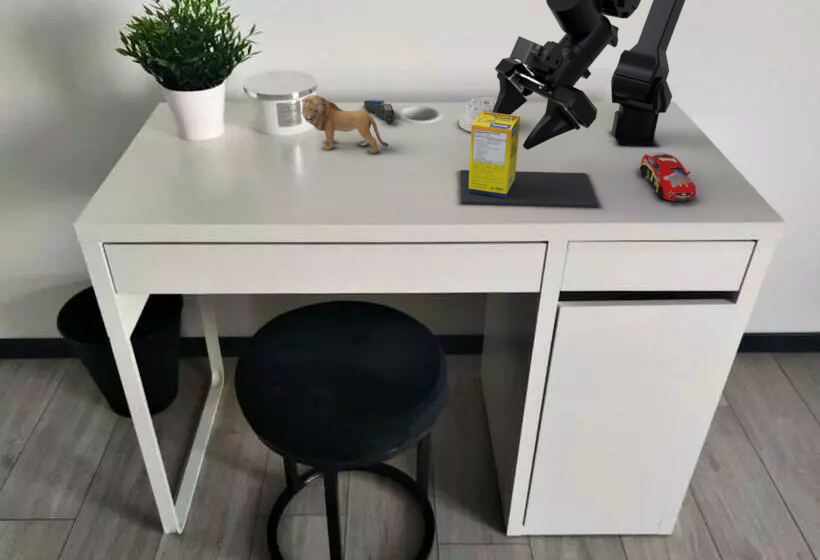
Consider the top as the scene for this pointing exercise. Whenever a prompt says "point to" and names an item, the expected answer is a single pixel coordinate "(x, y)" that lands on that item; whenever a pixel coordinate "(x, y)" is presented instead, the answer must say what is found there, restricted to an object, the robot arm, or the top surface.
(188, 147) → the top surface
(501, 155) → the supplement box
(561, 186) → the desk pad
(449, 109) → the top surface
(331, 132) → the lion figurine
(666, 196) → the race car
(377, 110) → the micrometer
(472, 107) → the mechanical component
